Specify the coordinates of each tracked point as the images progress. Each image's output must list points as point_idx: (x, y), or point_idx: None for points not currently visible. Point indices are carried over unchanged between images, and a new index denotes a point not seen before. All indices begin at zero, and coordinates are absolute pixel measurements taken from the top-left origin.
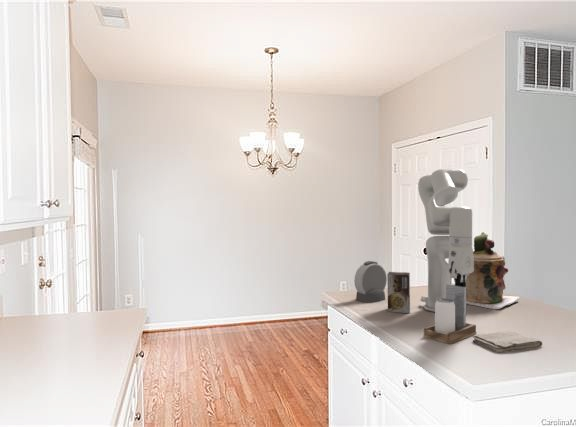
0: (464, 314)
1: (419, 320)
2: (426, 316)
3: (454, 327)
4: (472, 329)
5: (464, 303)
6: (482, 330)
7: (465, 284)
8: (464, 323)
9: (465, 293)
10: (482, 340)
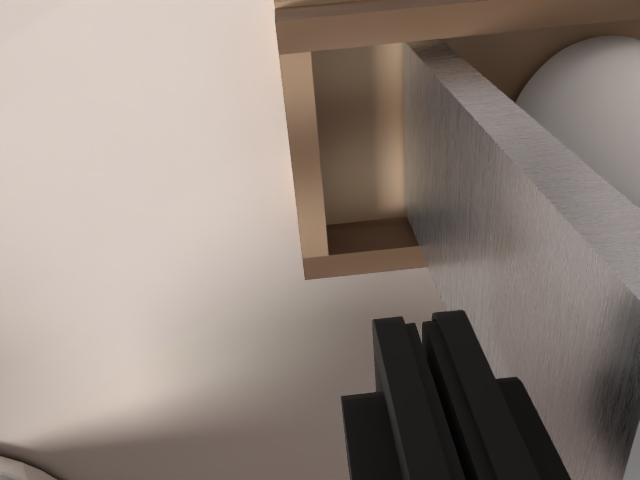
0: (488, 89)
1: (342, 432)
2: (215, 464)
3: (630, 55)
4: (348, 8)
5: (550, 144)
6: (127, 25)
7: (421, 466)
8: (454, 60)
9: (600, 229)
10: None
